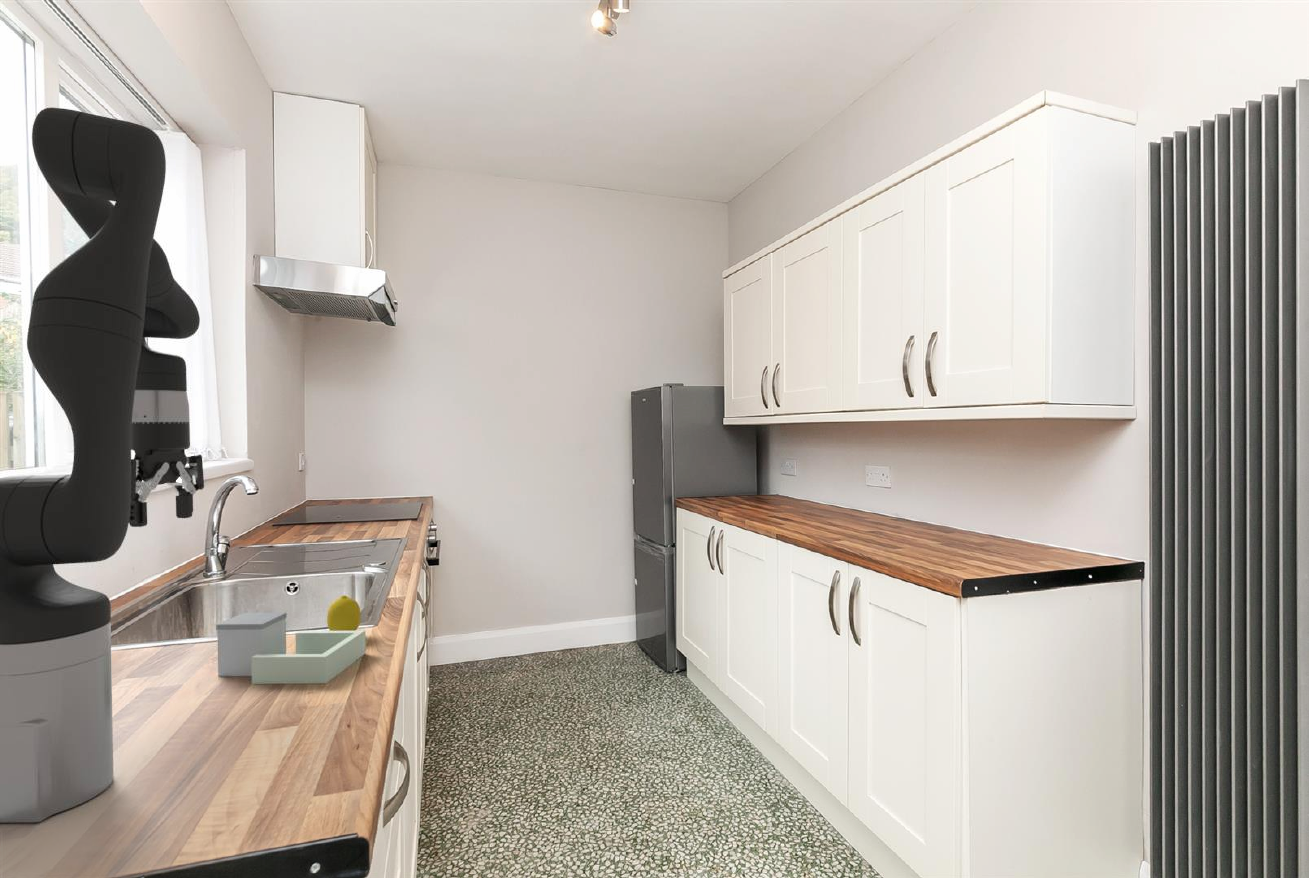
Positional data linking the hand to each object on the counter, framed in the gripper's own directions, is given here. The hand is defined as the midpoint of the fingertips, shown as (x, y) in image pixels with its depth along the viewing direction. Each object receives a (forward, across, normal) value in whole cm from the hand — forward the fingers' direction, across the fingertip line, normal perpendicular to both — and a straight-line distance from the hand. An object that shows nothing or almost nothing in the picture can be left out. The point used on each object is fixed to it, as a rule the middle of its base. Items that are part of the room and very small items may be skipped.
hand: (162, 521), depth 98 cm
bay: (+24, +1, -23) cm, 33 cm away
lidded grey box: (+24, +1, -14) cm, 27 cm away
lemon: (+24, +15, -21) cm, 35 cm away
